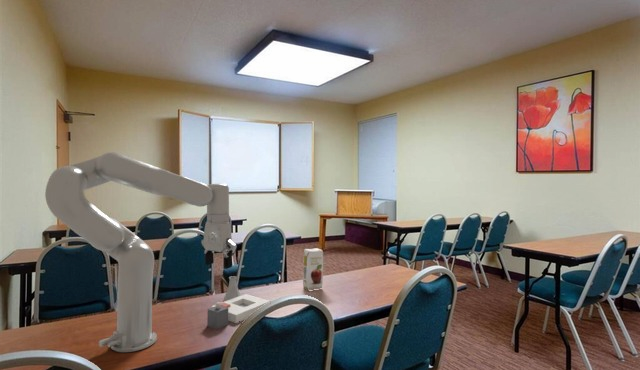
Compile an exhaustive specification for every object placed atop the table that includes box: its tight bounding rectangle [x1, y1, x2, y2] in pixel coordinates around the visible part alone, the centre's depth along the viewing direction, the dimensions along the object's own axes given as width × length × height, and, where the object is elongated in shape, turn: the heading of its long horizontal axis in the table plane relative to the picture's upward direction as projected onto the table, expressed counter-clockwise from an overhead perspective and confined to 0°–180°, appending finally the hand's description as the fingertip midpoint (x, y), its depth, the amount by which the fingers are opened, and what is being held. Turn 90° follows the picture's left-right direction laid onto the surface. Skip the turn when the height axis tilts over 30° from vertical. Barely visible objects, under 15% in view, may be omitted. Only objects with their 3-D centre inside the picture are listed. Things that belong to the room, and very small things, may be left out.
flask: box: [222, 275, 241, 302], centre depth 145 cm, size 7×7×10 cm
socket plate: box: [210, 293, 271, 324], centre depth 133 cm, size 18×14×4 cm
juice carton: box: [302, 247, 324, 291], centre depth 163 cm, size 8×9×19 cm
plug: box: [206, 301, 229, 330], centre depth 120 cm, size 5×5×8 cm
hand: (218, 266), depth 121 cm, fingers open, 9 cm apart
